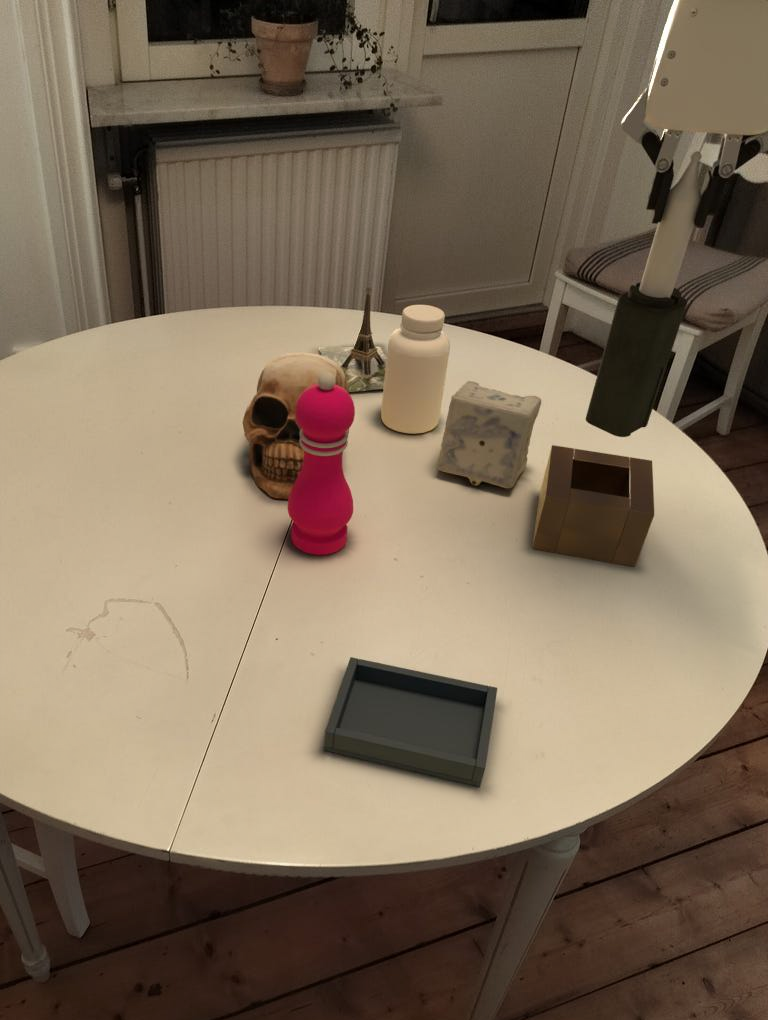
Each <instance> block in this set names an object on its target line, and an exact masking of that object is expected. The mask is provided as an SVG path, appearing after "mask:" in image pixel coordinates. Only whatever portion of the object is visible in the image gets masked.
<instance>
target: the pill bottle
mask: <svg viewBox="0 0 768 1020" xmlns="http://www.w3.org/2000/svg"><path fill="white" fill-rule="evenodd" d="M445 319H446V314H445V312H444V311H443V310H442V309H440V308H439V307H436V306H433V305H428V304H412V305H409V306H407V307H405V308H403V310H402V314H401V322H400V324H399V326H400V327H398V328H396V329H395V330H394V331H393V332H391V334H390V336H389V339H388V341H387V349H386V350H387V351H386V358H387V360H386V370H385V380H384V389H382V390H383V392H382V399H381V400H382V401H381V411H380V412H381V413H380V417H381V421H382V423H383V424H384V425H385V426H386V427H388V428H389V429H390V430H393V431H396V432H398V433H403V434H423V433H427V432H430V431H432V430H434V429H435V428H436V427H437V426H438V424H439V421H440V416H441V410H442V403H443V397H444V390H445V384H446V377H447V371H448V364H449V357H450V351H451V344H450V338H449V337H448V335H447V334H446V333H445V332H444V331H443V328H444V325H445Z"/></svg>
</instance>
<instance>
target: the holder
mask: <svg viewBox="0 0 768 1020" xmlns="http://www.w3.org/2000/svg"><path fill="white" fill-rule="evenodd" d="M653 470H654V469H653V460H651V459H644V458H638V457H633V456H632V457H631V456H627V455H625V456H624V455H618V454H612V453H606V452H601V451H600V452H599V451H592V450H588V449H587V450H585V449H579V448H574V447H566V446H562V445H561V446H560V445H556V444H555V445H553V444H552V445H551V448H550V451H549V455H548V459H547V463H546V467H545V471H544V475H543V479H542V483H541V486H540V489H539V490H540V491H539V494H538V501H537V508H536V516H535V523H534V531H533V539H532V546H531V549H532V550H538V551H543V552H549V553H553V554H554V553H555V554H560V555H566V556H571V557H578V558H583V559H589V560H595V561H600V562H605V563H610V564H611V563H612V564H616V565H623V566H629V567H633V568H635V567H636V566H637V563H638V561H639V557H640V555H641V553H642V550H643V547H644V544H645V541H646V539H647V536H648V534H649V530H650V528H651V525H652V523H653V520H654V518H655V493H654V473H653V472H654V471H653Z"/></svg>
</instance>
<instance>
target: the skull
mask: <svg viewBox="0 0 768 1020" xmlns="http://www.w3.org/2000/svg"><path fill="white" fill-rule="evenodd" d="M323 372H330V373H332V374H333V375H334V377H335V380H336V382H335V385H338V386H340V387H342V388H343V389H345V390H346V391H347V392H348V393H349V394H350V392H349V387H348V382H347V379H346V376H345V374H344V372H343V370H342V369H341V367H340V366H339V365H338V364H337V363H335V362H334V361H333V360H331V359H329V358H327V357H325V356H322V355H321V354H317V353H311V352H303V351H298V352H297V351H296V352H287V353H284V354H280V355H277V356H275V357H274V358H273V359H271V360H270V361H269V362H268V363H266V365H264V368H263V369H262V370H261V372H260V375H259V377H258V379H257V385H256V394H255V395H254V396H253V398H252V399H251V400H250V402H249V403H248V405H247V407H246V409H245V412H244V415H243V418H242V427H243V428H242V429H243V432H244V434H243V435H244V437H245V440H246V441H247V442H248V443H249V444H250V445H249V466H250V470H251V473H252V476H253V479H254V483H255V484H256V485H257V487H259V488H260V489H262V491H264V492H266V494H267V495H268V496H270V497H271V498H274V499H281V500H289V495H290V492H291V490H292V487H293V485H294V483H295V481H296V479H297V478H298V475H299V473H300V471H301V469H302V465H303V459H304V450H303V449H302V447H301V446H300V442H299V441H300V430H301V429H302V428H301V427H300V426H299V424H298V422H297V420H296V414H295V410H296V404H297V401H298V398H299V396H300V395H301V394H302V393H303V391H305V390H306V389H307V388H309V387H311V386H312V385H316V384H318V377H319V375H320V374H321V373H323ZM347 432H348V435H349V434H350V428H349V429H348V430H347Z"/></svg>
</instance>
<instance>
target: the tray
mask: <svg viewBox="0 0 768 1020" xmlns="http://www.w3.org/2000/svg"><path fill="white" fill-rule="evenodd" d="M497 695H498V687H497V686H492V685H486V684H482V683H481V684H480V683H476V682H471V681H467V680H463V679H457V678H453V677H447V676H444V675H438V674H434V673H429V672H424V671H419V670H415V669H410V668H406V667H405V668H404V667H399V666H395V665H391V664H387V663H380V662H377V661H372V660H366V659H362V658H357V657H353V656H352V657H351V656H350V658H349V660H348V663H347V666H346V669H345V671H344V675H343V677H342V680H341V684H340V686H339V690H338V693H337V694H336V699H335V701H334V704H333V706H332V710H331V713H330V716H329V719H328V722H327V724H326V728H325V731H324V741H323V742H324V744H323V750H324V751H326V752H330V753H333V754H338V755H342V756H346V757H350V758H351V757H352V758H355V759H358V760H359V759H360V760H364V761H369V762H373V763H377V764H381V765H386V766H389V767H394V768H398V769H402V770H407V771H411V772H415V773H418V774H419V773H420V774H423V775H428V776H433V777H437V778H441V779H446V780H448V781H449V780H450V781H453V782H458V783H463V784H467V785H471V786H475V787H478V788H479V787H481V785H482V782H483V778H484V775H485V772H486V766H487V758H488V754H489V753H488V752H489V747H490V740H491V733H492V727H493V722H494V721H493V719H494V714H495V707H496V701H497Z"/></svg>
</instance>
